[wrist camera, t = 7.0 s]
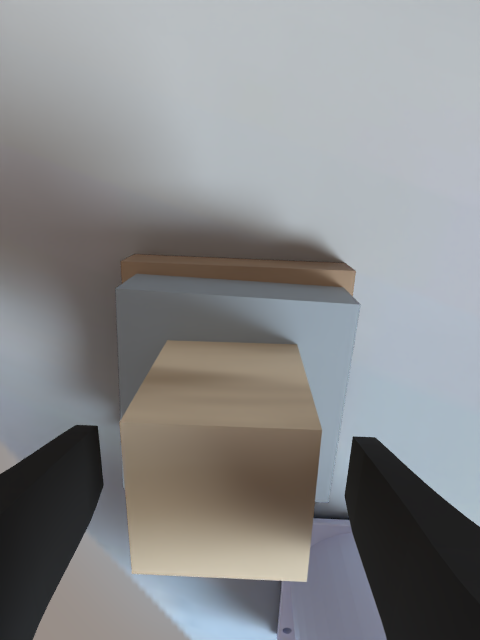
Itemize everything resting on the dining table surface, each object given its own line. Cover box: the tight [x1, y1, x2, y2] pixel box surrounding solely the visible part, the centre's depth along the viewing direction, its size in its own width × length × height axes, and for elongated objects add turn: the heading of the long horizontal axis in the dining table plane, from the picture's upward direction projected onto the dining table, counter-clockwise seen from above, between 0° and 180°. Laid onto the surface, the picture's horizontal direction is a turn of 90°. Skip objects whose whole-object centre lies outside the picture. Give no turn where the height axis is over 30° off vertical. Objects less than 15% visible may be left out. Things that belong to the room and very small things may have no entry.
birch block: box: [119, 340, 322, 582], centre depth 12 cm, size 4×4×5 cm
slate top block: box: [115, 274, 360, 503], centre depth 15 cm, size 8×8×2 cm
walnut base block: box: [121, 254, 356, 296], centre depth 18 cm, size 9×9×2 cm
